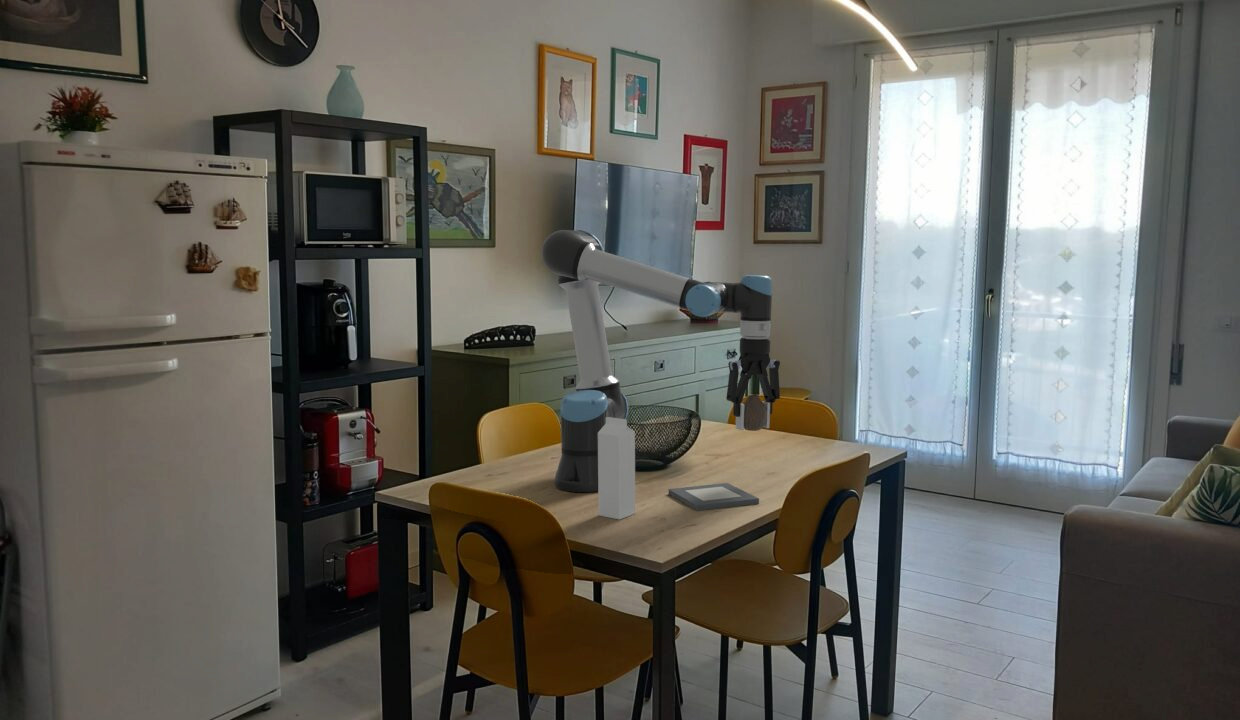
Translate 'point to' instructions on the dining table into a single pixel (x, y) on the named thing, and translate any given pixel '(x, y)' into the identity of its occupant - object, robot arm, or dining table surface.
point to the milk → (616, 469)
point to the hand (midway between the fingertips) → (752, 428)
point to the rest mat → (713, 496)
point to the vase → (754, 413)
